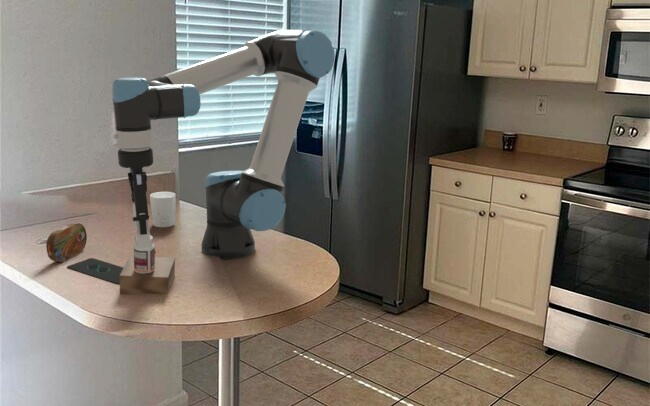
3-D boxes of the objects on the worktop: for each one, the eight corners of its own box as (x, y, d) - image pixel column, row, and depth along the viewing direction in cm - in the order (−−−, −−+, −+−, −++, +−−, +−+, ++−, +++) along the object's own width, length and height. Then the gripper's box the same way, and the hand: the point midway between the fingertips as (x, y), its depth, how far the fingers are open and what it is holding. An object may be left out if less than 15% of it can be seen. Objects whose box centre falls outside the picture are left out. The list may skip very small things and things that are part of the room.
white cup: (151, 221, 200) (149, 192, 197) (175, 220, 202) (174, 191, 200) (152, 229, 193) (150, 198, 190) (177, 227, 195) (176, 197, 192)
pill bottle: (148, 263, 148) (148, 232, 146) (158, 271, 145) (158, 238, 142) (130, 268, 145) (129, 236, 142) (140, 276, 142) (140, 243, 139)
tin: (56, 266, 161) (53, 236, 159) (45, 265, 161) (42, 235, 159) (88, 247, 175) (86, 219, 173) (78, 246, 176) (76, 218, 173)
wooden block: (174, 275, 154) (174, 257, 153) (167, 296, 144) (167, 277, 143) (130, 274, 153) (129, 255, 152) (120, 294, 143) (119, 275, 141)
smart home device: (92, 256, 165) (144, 273, 155) (92, 263, 165) (144, 279, 155) (65, 266, 158) (118, 283, 148) (65, 272, 158) (118, 290, 148)
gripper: (115, 139, 147) (123, 223, 153) (119, 160, 124) (128, 257, 130) (148, 137, 149) (154, 220, 155) (157, 158, 127) (164, 253, 133)
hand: (142, 237), depth 143 cm, fingers open, 13 cm apart
